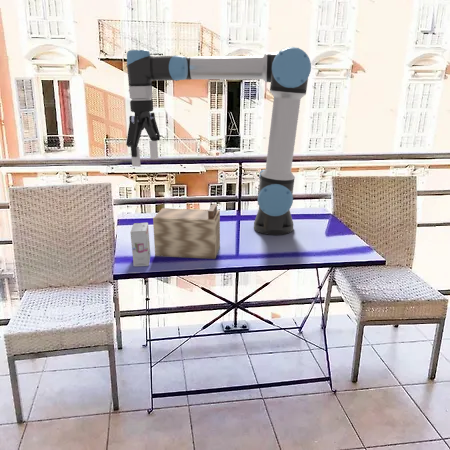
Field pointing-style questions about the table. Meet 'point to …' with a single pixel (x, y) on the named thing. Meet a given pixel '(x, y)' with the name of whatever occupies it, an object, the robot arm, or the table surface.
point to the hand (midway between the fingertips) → (145, 162)
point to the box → (187, 237)
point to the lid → (189, 213)
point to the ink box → (140, 244)
